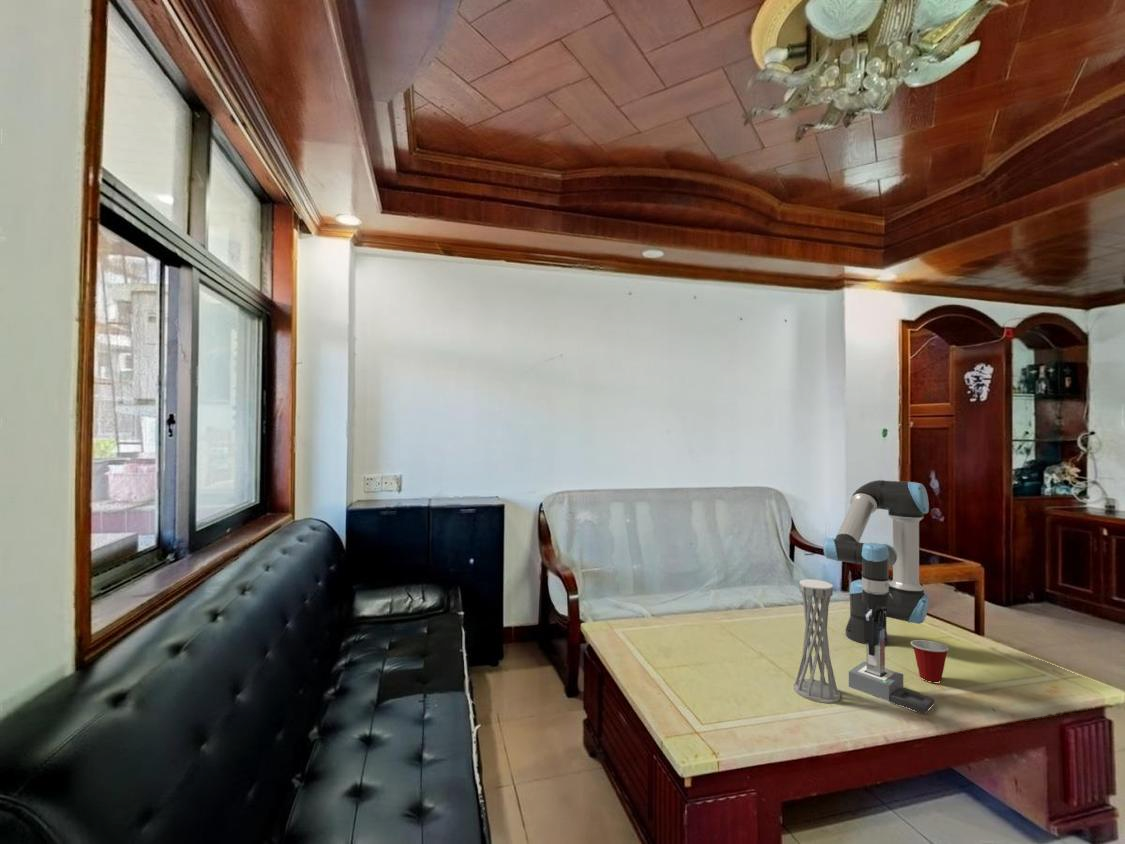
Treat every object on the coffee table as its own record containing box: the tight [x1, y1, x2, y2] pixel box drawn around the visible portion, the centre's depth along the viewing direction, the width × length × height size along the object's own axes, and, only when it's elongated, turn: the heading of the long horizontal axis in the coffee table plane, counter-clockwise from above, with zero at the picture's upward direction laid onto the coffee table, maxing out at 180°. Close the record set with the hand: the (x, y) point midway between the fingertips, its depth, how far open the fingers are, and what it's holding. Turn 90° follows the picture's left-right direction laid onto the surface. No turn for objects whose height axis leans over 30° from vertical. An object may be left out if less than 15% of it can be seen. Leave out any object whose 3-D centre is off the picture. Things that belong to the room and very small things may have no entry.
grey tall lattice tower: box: [793, 578, 841, 704], centre depth 168 cm, size 14×13×35 cm
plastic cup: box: [910, 639, 950, 682], centre depth 177 cm, size 11×11×12 cm
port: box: [848, 661, 904, 701], centre depth 171 cm, size 12×12×5 cm
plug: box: [866, 627, 886, 677], centre depth 171 cm, size 4×4×15 cm
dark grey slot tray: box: [889, 687, 935, 715], centre depth 161 cm, size 9×9×2 cm
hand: (875, 662), depth 171 cm, fingers closed on plug, 4 cm apart
